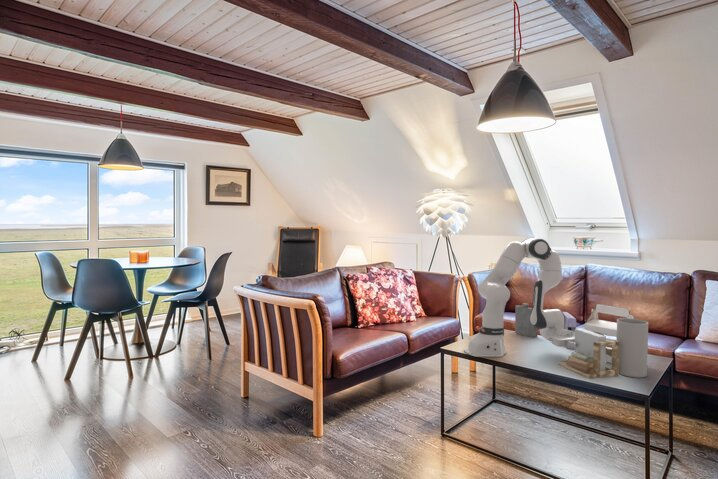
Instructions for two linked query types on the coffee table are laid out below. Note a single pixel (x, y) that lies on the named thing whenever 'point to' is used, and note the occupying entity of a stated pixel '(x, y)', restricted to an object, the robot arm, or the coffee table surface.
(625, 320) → the cylinder vase
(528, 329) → the hip flask
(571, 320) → the cake pan box
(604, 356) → the tall board
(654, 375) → the coffee table surface
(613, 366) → the rack
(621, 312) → the gable box
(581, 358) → the offcut stack
